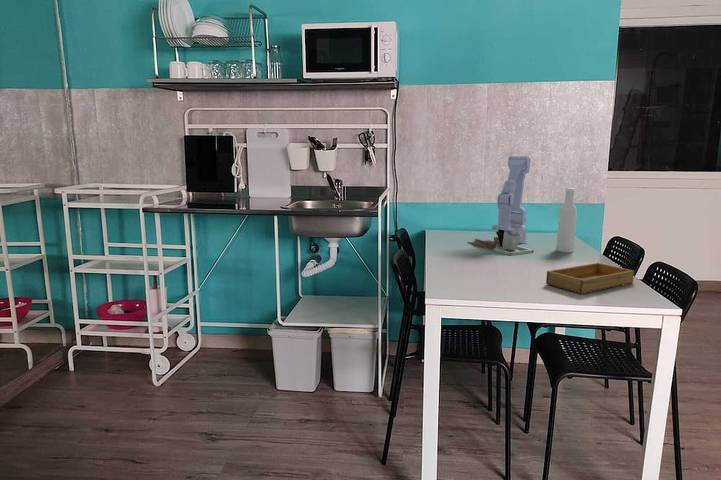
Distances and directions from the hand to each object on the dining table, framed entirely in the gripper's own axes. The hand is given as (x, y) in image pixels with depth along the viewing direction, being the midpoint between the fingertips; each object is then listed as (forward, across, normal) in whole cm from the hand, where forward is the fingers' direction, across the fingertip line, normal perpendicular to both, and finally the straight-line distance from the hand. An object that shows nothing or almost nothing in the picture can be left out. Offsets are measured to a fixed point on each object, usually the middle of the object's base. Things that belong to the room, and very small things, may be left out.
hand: (502, 246), depth 259 cm
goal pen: (+1, +7, 0) cm, 7 cm away
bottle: (+1, +16, +24) cm, 29 cm away
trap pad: (+1, -16, 0) cm, 16 cm away
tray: (+2, +63, -14) cm, 64 cm away
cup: (+1, +5, 0) cm, 5 cm away
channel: (+1, -6, 0) cm, 6 cm away
